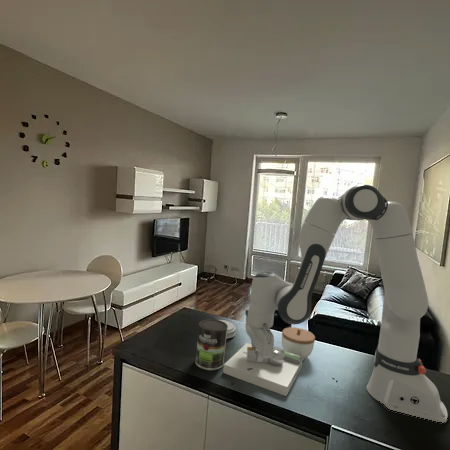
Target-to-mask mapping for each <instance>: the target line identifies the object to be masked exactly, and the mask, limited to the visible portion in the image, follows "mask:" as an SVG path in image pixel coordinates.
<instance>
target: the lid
mask: <svg viewBox="0 0 450 450" xmlns="http://www.w3.org/2000/svg"><path fill="white" fill-rule="evenodd" d="M218 320H219V321H222V322H224V323H226V324H227V326H228V328H227V335H226V340H227V339H231V338H234V337H235V335H236V331H237V327H236V325H235V324H234V323H232V321H228V320H224V319H218Z"/></svg>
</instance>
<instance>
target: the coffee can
mask: <svg viewBox="0 0 450 450" xmlns="http://www.w3.org/2000/svg"><path fill="white" fill-rule="evenodd" d="M219 320H220V319H213V318H212V319H211V318H207V319H206V318H205V319H202V320H201V321H199V323H198V333H197V340H196V341H197V343H196V353H195V362H194V363H195V365H196V366H197V367H198V368H200V369H202V370H206V371H216V370H217V371H218V370H220V369H221V368H223V367H224V364H225V362H224V361H225V352H226V342H227V339H226V335H227V328H228V326H227V324H226V323H224V322H222V321H219Z"/></svg>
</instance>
